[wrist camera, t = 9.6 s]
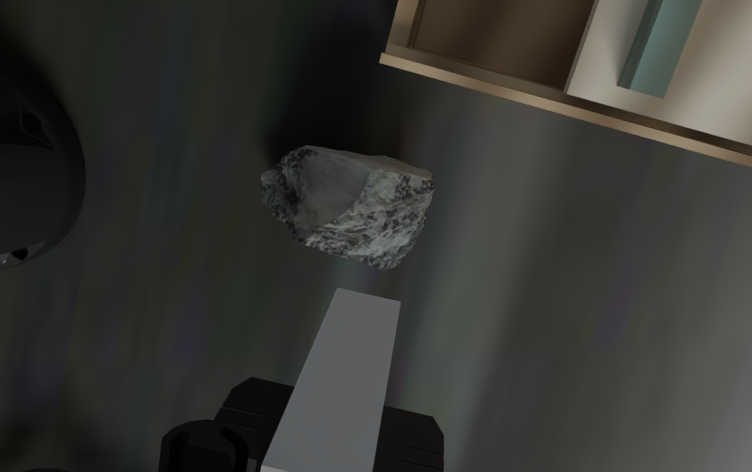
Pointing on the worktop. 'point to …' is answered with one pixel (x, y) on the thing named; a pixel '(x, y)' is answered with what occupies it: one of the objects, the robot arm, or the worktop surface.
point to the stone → (350, 203)
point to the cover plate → (695, 73)
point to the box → (523, 61)
